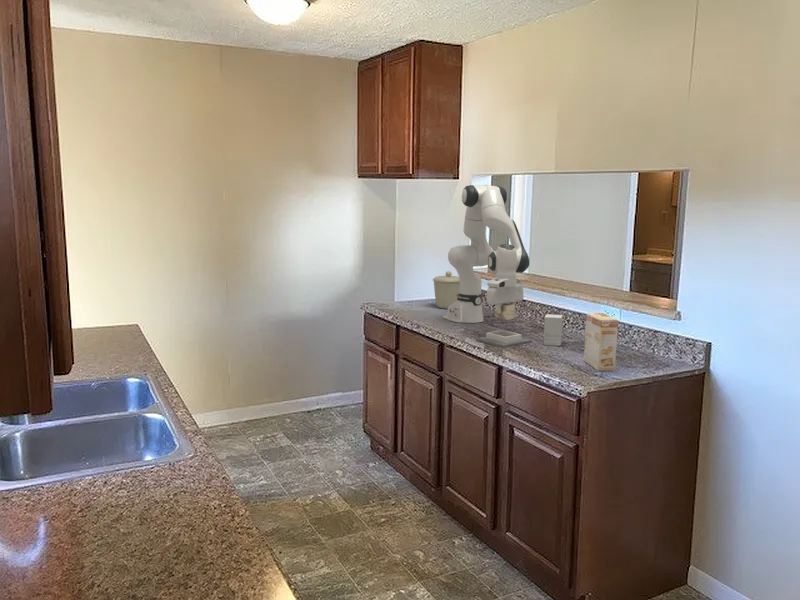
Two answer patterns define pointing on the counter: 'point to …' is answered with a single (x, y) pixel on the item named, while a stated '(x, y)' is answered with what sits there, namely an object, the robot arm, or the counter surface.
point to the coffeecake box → (601, 341)
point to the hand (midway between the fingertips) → (505, 312)
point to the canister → (446, 290)
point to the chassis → (503, 338)
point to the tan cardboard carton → (506, 311)
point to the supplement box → (553, 329)
